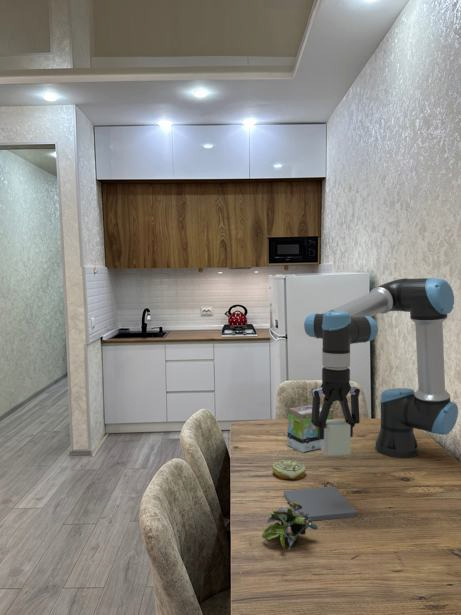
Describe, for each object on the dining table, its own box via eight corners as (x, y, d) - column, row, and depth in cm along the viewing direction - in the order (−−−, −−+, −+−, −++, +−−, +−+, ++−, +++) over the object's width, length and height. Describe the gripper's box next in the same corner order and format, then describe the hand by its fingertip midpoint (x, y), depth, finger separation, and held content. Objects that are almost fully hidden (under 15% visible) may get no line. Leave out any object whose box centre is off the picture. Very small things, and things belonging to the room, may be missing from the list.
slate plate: (334, 490, 144) (334, 486, 144) (357, 516, 128) (357, 511, 128) (283, 494, 141) (283, 490, 141) (300, 521, 125) (300, 517, 125)
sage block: (340, 446, 135) (341, 418, 134) (350, 453, 129) (350, 425, 129) (321, 447, 134) (321, 420, 133) (329, 455, 128) (329, 426, 127)
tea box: (303, 453, 174) (303, 414, 173) (286, 445, 183) (286, 408, 182) (333, 446, 182) (334, 408, 181) (316, 438, 190) (316, 402, 189)
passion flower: (294, 556, 119) (322, 518, 119) (291, 574, 109) (321, 532, 108) (259, 525, 122) (286, 488, 122) (252, 540, 111) (282, 499, 111)
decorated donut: (296, 484, 148) (296, 473, 148) (267, 476, 154) (266, 465, 154) (310, 472, 157) (310, 461, 157) (281, 465, 163) (281, 455, 163)
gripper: (361, 363, 136) (360, 442, 137) (298, 366, 132) (298, 447, 133) (374, 368, 128) (373, 451, 130) (308, 371, 124) (307, 456, 126)
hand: (335, 449), depth 131 cm, fingers closed on sage block, 6 cm apart
